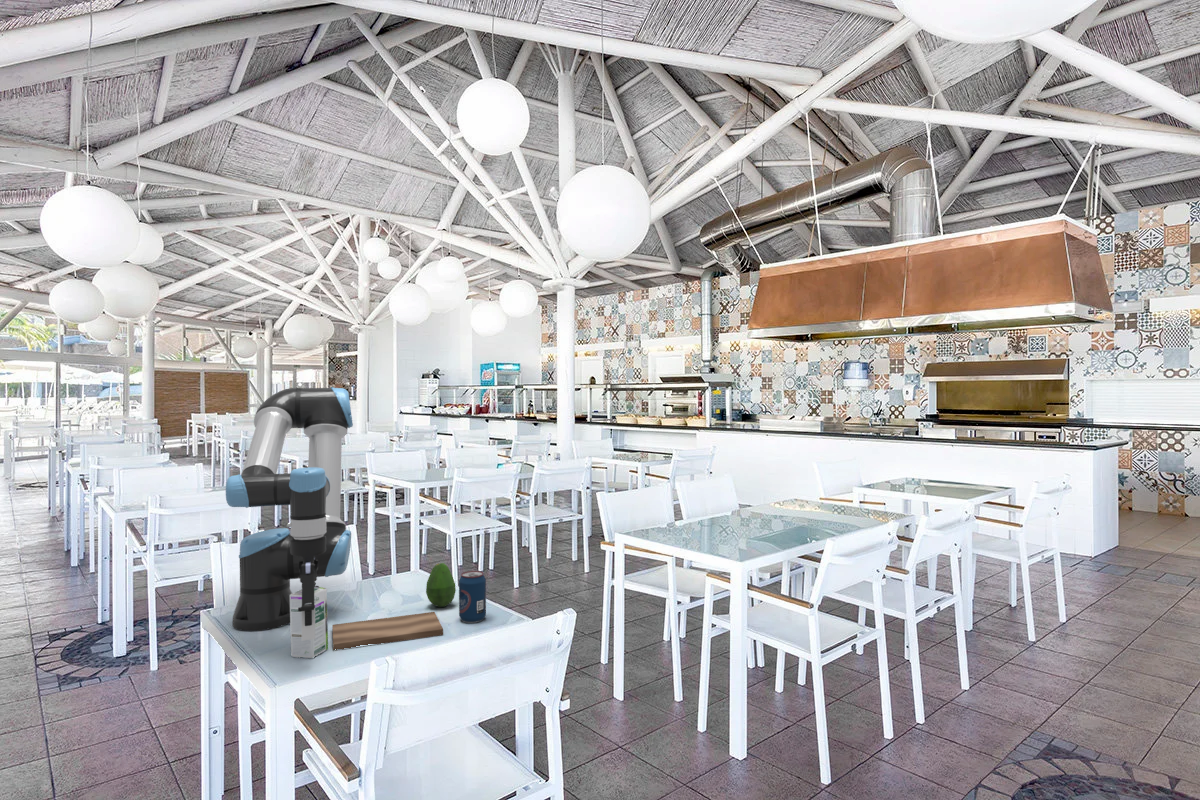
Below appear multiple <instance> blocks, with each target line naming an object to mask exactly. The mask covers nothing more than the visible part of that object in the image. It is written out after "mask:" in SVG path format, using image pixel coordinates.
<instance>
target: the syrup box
mask: <svg viewBox="0 0 1200 800" xmlns="http://www.w3.org/2000/svg"><path fill="white" fill-rule="evenodd" d="M327 591H328V589H327V588H326V587H322V586H319V587H314V605H315V639H311V640H303V641H302V616H301V611H300V612H298V608H299V607H302V588H301V589H299V590H297V591H295V592H293V593H292V592H291V593H292V594H290V623H289V624H290V625H289V626H290V654H291V655H290V656H291V658H297V659H298V657H299V659H301V658H300V657H305V658H304V659H308V658H313V657H315V656H316V657H318V656H319V655H320V653H321V654H322V653H324V652H326V651H327V650H328V649H329V630H328V629H329V628H328V626H329V625H328V598H327V597H328V594H327V593H328V592H327ZM306 604H312V603H306ZM325 650H326V651H325ZM318 654H319V655H318ZM316 657H315V658H316ZM313 659H314V658H313Z"/></svg>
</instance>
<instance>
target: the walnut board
mask: <svg viewBox="0 0 1200 800" xmlns="http://www.w3.org/2000/svg"><path fill="white" fill-rule="evenodd" d="M331 626H332V627H331V628H332V651H333V650H335V649H336V650H335V651H338V650H337V649H342V650H345V649H344V648H349V649H352V648H351V647H356V646H360V645H368V644H377V645H382V644H381V643H384V644H391V643H397V642H404V641H411V640H418V639H425V638H431V637H438V636H439V637H440V636H444V628H443V626H442V624H441V622H440V620H439V618H438V616H437V614H436V612H435V611H431V612H430V611H429V612H421V613H413V614H407V615H406V614H405V615H398V616H391V617H389V616H388V617H384V618H383V617H382V618H374V619H366V620H360V621H351V622H343V623H334V624H331ZM390 642H391V643H390ZM356 648H357V647H356Z"/></svg>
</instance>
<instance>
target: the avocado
mask: <svg viewBox="0 0 1200 800" xmlns="http://www.w3.org/2000/svg"><path fill="white" fill-rule="evenodd" d="M454 579H455V578H454V577H453V574H452V573H451V571H450V569H449V567H448V566H447V564H445V563H444V562H439V563H437V564H435V565H434V566H433V567H432V569H431V572H430V573H429V576H428V579H427V581H426V588H425V589H426V590H425V593H426V596H427V599H428V601H429V602H430V603H431V604H432V605H433V606H435V607H440V608H441V607H442V608H444V607H446V606H448V605H450V604H451V603H452V602H453V600H454V598H455V595H456V590H457V589H456V582H455V580H454Z"/></svg>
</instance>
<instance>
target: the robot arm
mask: <svg viewBox="0 0 1200 800" xmlns="http://www.w3.org/2000/svg"><path fill="white" fill-rule="evenodd" d="M253 425H254V428H255V429H254V433H253V436H252V438H251V441H250V445H249V448H248V450H247V451H248V452H247V454H246V458H245V462H244V464H243V468H242V471H241V472H240V474H239V473H238V474H237V475H231V476H229V477H228V478H227V479H226V484H225V500H226V503H227V506H229V507H231V508H246V509H247V508H257V507H258V508H259V507H273V506H290V510H289V511H290V515H289V519H290V521H289V522H288V523H287V524H286V527H287V528H286V527H283V528H281V527H280V528H272V529H266V530H263V531H258V532H255V533H252V534H249V535H247V536H245V537H244V538H242V540H241V541H240V543H239V555H238V558H239V595H238V600H237V602H236V607H235V609H234V611H233V614H232V628H233V629H236V630H239V631H244V632H247V631H249V632H252V631H253V632H254V631H255V632H256V631H265V630H271V629H275V628H279V627H284V626H286V625H288V624H290V594H292V591H291V580H297V579H299V581H300V582H299V583H301V589H302V607H299V608H298V612H300V611H301V616H302V641H303V640H311V639H315V605H314V587H320V586H319V585H316V584H317V580H318V578H320V577H325V578H329V577H333V576H338V575H342V574H344V573H345V572H346V570H347V568H348V563H349V560H350V553H351V546H352V545H351V542H352V531H351V530H349V529H347V525H346V523H345V522H344V521H343V520H342V519H341V493H342V491H341V489H342V486H341V485H342V484H341V483H342V448H343V447H342V443H343V442H342V441H343V440H342V439H343V438H344V437H345V436H346V435H347V434H348V429H350V428H353V426H354V423H353V416H352V408H351V401H350V393H349V392H348V390H347V389H345V388H342V387H341V388H340V387H333V386H332V387H331V386H330V387H288V388H284V389H282V390H280V391H277V392H276V393H273V394H272V395H270V396H269V397H268V398H266V400H264V402H262V404H260V405H259V407H258V408H257V409H256V412H255V415H254V418H253ZM291 429H303V433H304V435H305V436H306V437H308V439H309V440H308V441H309V442H308V459H307V460H308V462H307V465H308V467H299V468H294V469H292V470H291V471H290V472H289V473H278V469H279V463H280V460H281V457H282V451H283V447H284V444H285V441H286V440H285V439H286V435H287V434H288V433H290V431H291ZM289 528H290V529H289ZM306 603H312V604H306Z"/></svg>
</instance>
